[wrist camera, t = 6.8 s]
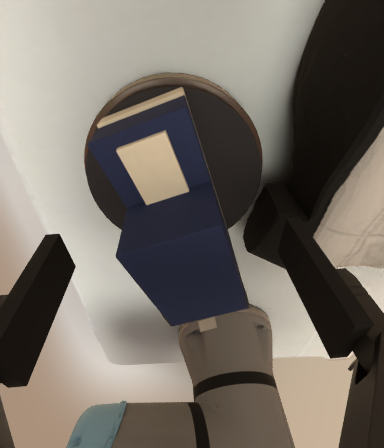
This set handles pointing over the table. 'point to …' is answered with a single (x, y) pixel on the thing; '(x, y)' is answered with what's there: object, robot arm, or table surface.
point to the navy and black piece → (177, 196)
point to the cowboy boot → (334, 143)
